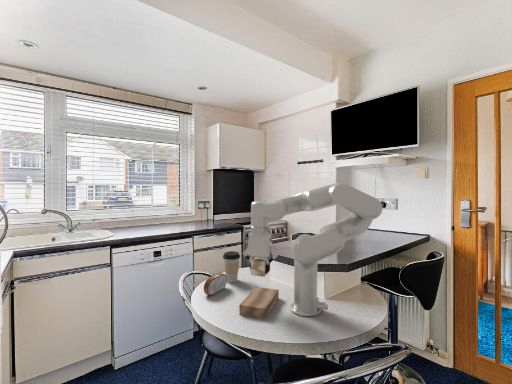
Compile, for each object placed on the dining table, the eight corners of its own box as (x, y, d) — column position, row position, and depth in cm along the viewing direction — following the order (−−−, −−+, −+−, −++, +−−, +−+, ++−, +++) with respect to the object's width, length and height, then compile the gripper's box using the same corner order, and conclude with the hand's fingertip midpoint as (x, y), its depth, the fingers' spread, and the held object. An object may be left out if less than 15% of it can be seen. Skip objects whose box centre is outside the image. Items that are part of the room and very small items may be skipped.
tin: (223, 286, 145) (222, 270, 144) (228, 287, 143) (227, 271, 143) (203, 297, 132) (202, 279, 132) (208, 298, 130) (208, 280, 130)
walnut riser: (278, 298, 130) (278, 289, 130) (265, 318, 111) (265, 308, 111) (256, 295, 134) (256, 286, 134) (239, 314, 115) (239, 304, 115)
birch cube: (268, 272, 124) (268, 258, 123) (264, 276, 118) (264, 262, 118) (255, 270, 126) (255, 257, 125) (250, 275, 120) (250, 261, 120)
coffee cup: (233, 276, 159) (233, 250, 158) (244, 281, 152) (243, 253, 151) (219, 280, 153) (219, 253, 152) (229, 285, 146) (229, 256, 145)
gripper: (281, 230, 122) (281, 271, 123) (244, 227, 127) (244, 267, 128) (277, 233, 114) (276, 277, 115) (237, 230, 120) (237, 272, 121)
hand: (259, 271), depth 122 cm, fingers closed on birch cube, 6 cm apart
